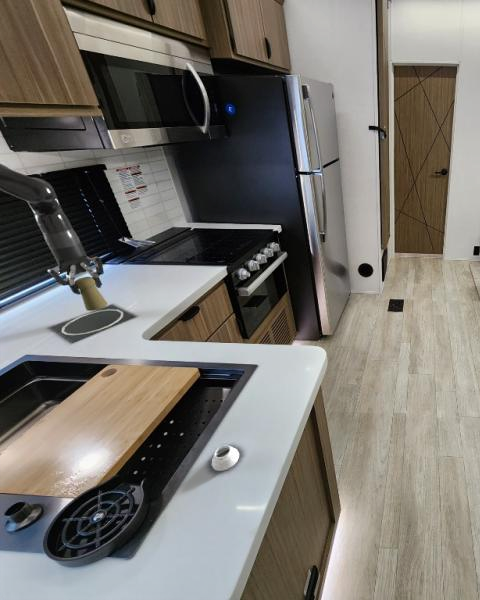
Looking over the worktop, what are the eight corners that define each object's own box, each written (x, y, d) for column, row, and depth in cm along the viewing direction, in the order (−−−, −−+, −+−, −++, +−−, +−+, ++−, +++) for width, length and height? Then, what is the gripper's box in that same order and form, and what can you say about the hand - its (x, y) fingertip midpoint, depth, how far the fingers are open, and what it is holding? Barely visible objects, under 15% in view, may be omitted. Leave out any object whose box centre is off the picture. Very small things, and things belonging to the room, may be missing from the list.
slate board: (73, 343, 105) (72, 341, 105) (51, 328, 113) (49, 326, 113) (135, 317, 119) (135, 316, 118) (112, 306, 127) (111, 304, 126)
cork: (110, 305, 118) (96, 277, 113) (89, 312, 114) (74, 283, 109) (104, 300, 121) (90, 273, 116) (83, 307, 117) (68, 279, 112)
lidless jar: (217, 477, 65) (243, 460, 68) (213, 467, 64) (239, 451, 67) (209, 460, 68) (234, 446, 71) (205, 451, 67) (230, 436, 70)
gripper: (86, 236, 113) (107, 280, 122) (30, 248, 103) (57, 296, 111) (96, 239, 110) (117, 285, 118) (39, 252, 99) (67, 301, 107)
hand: (88, 290), depth 114 cm, fingers closed on cork, 5 cm apart
